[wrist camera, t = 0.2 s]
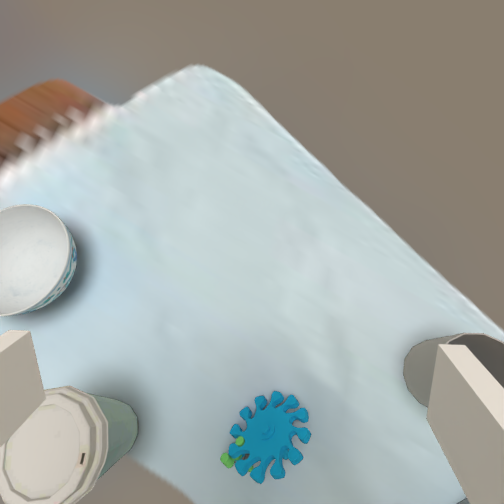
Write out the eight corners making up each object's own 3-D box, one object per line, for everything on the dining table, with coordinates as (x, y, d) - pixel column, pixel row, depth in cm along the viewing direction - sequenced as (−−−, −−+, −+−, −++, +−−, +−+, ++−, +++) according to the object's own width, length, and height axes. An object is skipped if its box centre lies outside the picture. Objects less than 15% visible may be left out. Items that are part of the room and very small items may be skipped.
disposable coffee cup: (65, 467, 43) (-41, 515, 29) (86, 376, 47) (1, 379, 33) (146, 480, 42) (77, 536, 28) (163, 385, 46) (108, 393, 31)
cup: (485, 404, 42) (544, 414, 32) (417, 418, 42) (456, 433, 32) (457, 333, 44) (504, 324, 35) (394, 347, 45) (423, 341, 35)
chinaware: (-13, 263, 53) (-60, 246, 46) (72, 208, 55) (40, 184, 48) (24, 345, 49) (-21, 341, 42) (116, 282, 51) (88, 268, 43)
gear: (291, 374, 43) (319, 449, 34) (310, 402, 46) (340, 478, 37) (214, 415, 44) (221, 498, 35) (236, 440, 46) (248, 523, 37)
